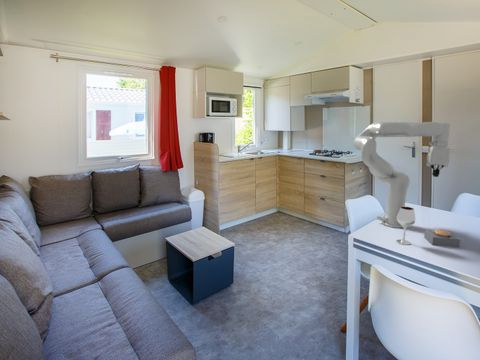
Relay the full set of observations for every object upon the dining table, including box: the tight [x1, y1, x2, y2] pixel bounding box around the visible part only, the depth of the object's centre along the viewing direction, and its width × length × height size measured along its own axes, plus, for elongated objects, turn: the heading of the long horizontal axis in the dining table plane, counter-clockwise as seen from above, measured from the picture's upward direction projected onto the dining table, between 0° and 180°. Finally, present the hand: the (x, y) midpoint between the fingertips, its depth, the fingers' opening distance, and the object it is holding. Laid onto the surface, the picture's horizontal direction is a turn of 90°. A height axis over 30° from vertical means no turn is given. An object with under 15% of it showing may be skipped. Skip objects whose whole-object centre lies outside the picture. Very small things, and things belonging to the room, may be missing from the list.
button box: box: [423, 229, 461, 248], centre depth 150 cm, size 12×10×4 cm
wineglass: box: [396, 206, 416, 246], centre depth 148 cm, size 8×8×18 cm
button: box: [433, 229, 452, 237], centre depth 150 cm, size 7×7×5 cm
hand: (435, 176), depth 171 cm, fingers closed
